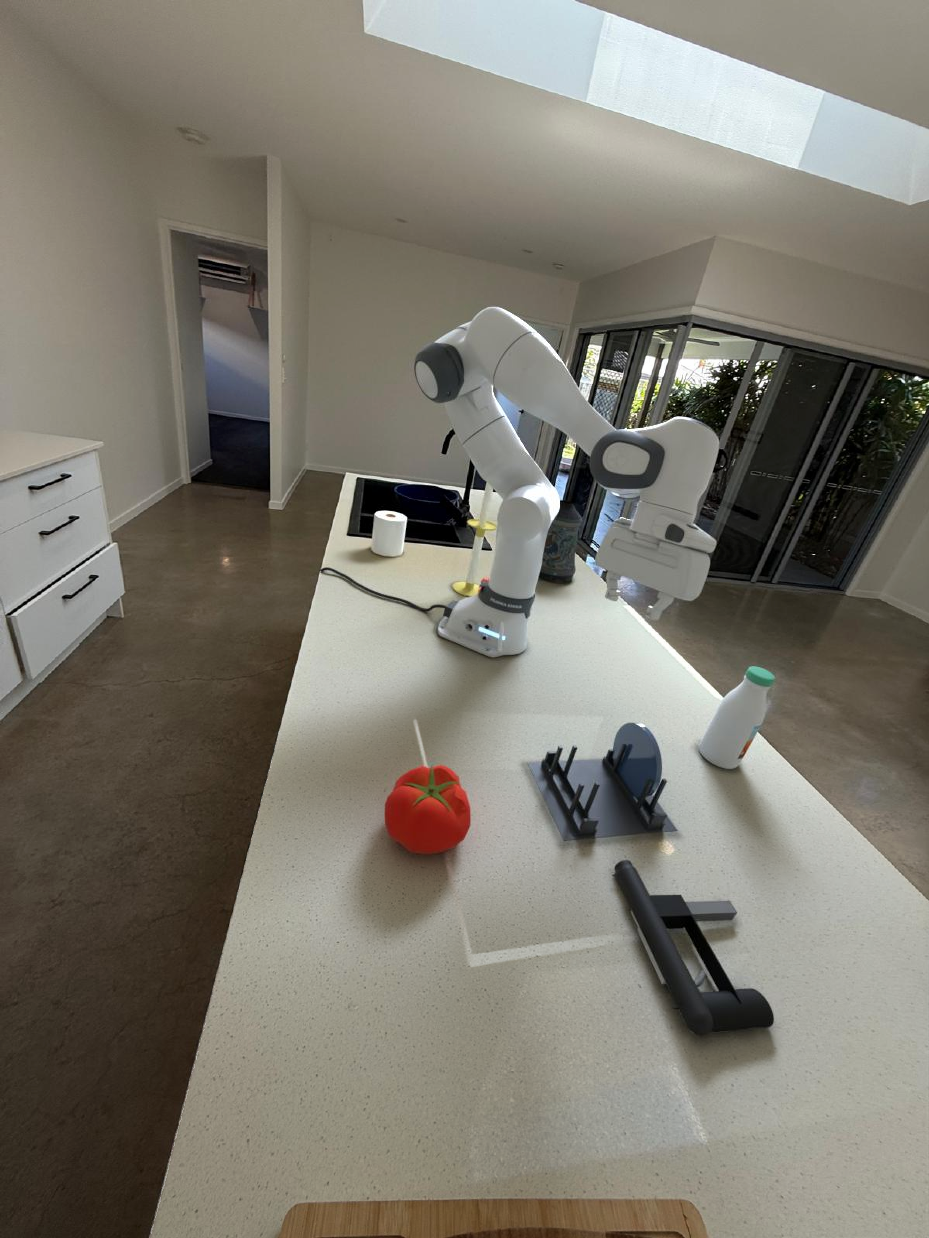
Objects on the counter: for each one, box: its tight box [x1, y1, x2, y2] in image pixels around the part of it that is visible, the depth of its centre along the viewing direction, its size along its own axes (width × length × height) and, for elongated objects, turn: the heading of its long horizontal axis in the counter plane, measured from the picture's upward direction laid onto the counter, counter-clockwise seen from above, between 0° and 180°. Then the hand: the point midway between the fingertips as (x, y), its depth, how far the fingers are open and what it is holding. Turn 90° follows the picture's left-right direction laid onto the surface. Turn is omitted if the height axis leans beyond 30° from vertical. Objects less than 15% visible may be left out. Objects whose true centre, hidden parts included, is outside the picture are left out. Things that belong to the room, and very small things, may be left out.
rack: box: [526, 744, 678, 842], centre depth 83 cm, size 16×20×8 cm
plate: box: [612, 722, 663, 798], centre depth 84 cm, size 12×1×12 cm, turn 14°
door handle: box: [611, 859, 775, 1037], centre depth 64 cm, size 3×20×16 cm
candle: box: [452, 482, 497, 598], centre depth 143 cm, size 10×10×38 cm
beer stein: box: [538, 499, 583, 584], centre depth 170 cm, size 16×19×25 cm
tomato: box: [384, 764, 472, 855], centre depth 71 cm, size 13×12×8 cm
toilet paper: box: [370, 510, 408, 558], centre depth 164 cm, size 10×10×12 cm
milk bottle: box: [698, 665, 776, 770], centre depth 96 cm, size 8×8×20 cm
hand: (629, 608), depth 84 cm, fingers open, 8 cm apart
